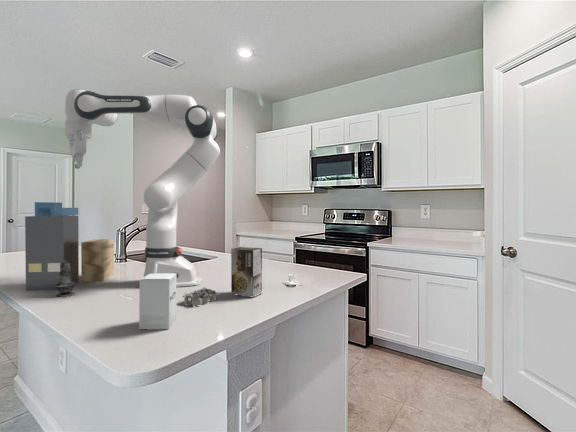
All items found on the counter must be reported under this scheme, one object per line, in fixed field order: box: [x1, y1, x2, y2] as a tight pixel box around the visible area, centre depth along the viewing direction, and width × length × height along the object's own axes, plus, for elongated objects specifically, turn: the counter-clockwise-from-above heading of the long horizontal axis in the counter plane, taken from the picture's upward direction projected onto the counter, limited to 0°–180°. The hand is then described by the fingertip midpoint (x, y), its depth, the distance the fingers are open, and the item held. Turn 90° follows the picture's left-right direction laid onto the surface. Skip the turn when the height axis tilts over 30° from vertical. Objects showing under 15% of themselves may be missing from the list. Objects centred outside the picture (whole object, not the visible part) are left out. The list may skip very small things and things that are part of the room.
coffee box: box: [230, 246, 263, 297], centre depth 114 cm, size 9×6×16 cm
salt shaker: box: [55, 260, 77, 298], centre depth 110 cm, size 6×6×12 cm
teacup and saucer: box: [286, 273, 298, 285], centre depth 130 cm, size 9×8×4 cm
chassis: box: [24, 215, 80, 292], centre depth 121 cm, size 12×12×26 cm
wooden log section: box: [80, 238, 115, 283], centre depth 135 cm, size 8×12×16 cm, turn 11°
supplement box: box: [138, 273, 177, 330], centre depth 84 cm, size 7×7×13 cm
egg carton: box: [181, 286, 220, 307], centre depth 104 cm, size 10×7×4 cm
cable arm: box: [34, 201, 79, 217], centre depth 126 cm, size 6×22×5 cm, turn 11°
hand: (78, 167), depth 130 cm, fingers open, 8 cm apart
